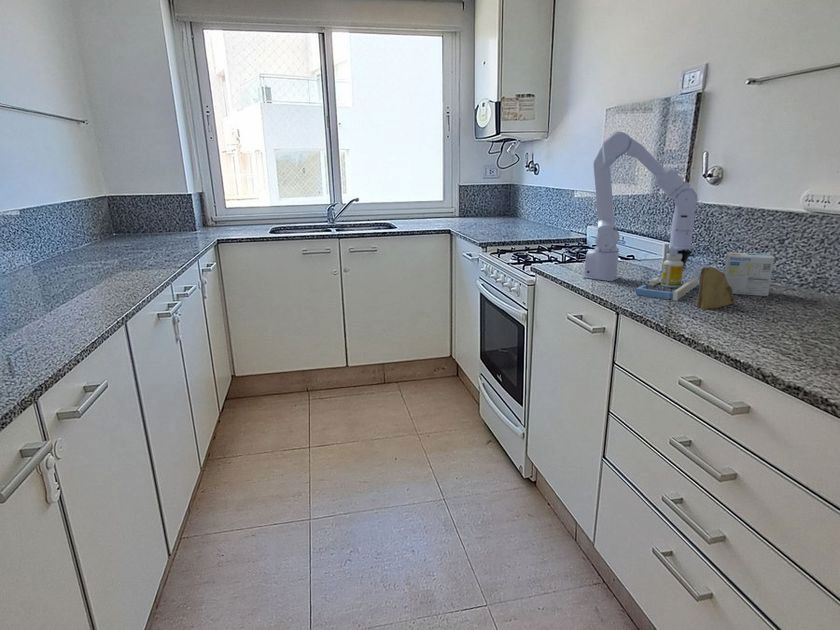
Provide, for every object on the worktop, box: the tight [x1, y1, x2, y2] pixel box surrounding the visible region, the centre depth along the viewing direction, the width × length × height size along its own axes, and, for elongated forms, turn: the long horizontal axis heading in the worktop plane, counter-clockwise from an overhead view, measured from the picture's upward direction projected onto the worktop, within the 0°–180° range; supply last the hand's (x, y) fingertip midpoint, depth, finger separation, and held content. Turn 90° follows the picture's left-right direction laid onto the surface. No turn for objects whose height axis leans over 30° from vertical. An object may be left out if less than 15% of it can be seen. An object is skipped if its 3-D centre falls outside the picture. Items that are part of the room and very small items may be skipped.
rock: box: [696, 267, 736, 310], centre depth 128 cm, size 11×9×10 cm
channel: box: [635, 276, 699, 302], centre depth 145 cm, size 11×21×2 cm, turn 139°
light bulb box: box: [723, 251, 775, 297], centre depth 140 cm, size 11×7×11 cm, turn 65°
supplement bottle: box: [660, 252, 685, 289], centre depth 149 cm, size 5×5×10 cm
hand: (676, 275), depth 153 cm, fingers closed
